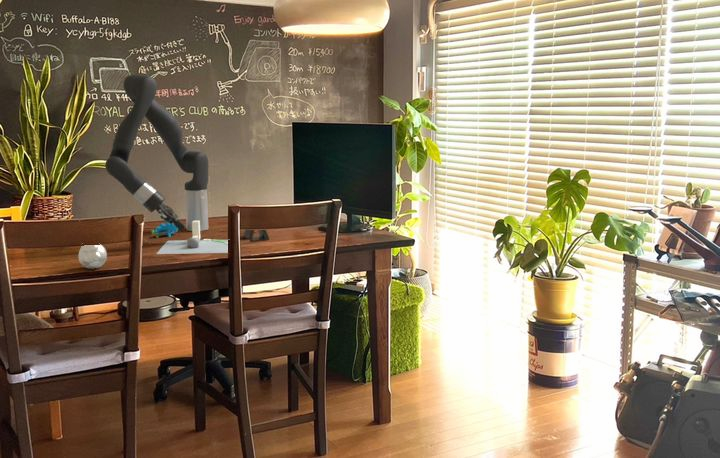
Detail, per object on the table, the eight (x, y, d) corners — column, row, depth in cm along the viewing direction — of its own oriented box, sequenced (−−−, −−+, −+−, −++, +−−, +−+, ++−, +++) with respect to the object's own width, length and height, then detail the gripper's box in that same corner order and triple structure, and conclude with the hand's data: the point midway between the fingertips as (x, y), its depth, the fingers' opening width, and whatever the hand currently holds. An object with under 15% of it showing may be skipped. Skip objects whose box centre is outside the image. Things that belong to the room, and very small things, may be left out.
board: (168, 243, 277) (167, 239, 277) (236, 242, 279) (235, 238, 279) (156, 257, 253) (155, 253, 252) (230, 256, 255) (230, 251, 255)
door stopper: (247, 242, 280) (246, 211, 278) (242, 239, 285) (241, 209, 283) (269, 240, 284) (268, 210, 282) (264, 237, 289) (263, 208, 287)
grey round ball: (71, 270, 233) (69, 240, 232) (93, 264, 242) (91, 235, 240) (93, 273, 230) (90, 242, 228) (114, 267, 238) (112, 237, 237)
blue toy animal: (177, 231, 292) (178, 217, 284) (182, 243, 289) (183, 229, 282) (150, 237, 287) (151, 223, 279) (155, 249, 285) (155, 235, 277)
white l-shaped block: (197, 247, 262) (197, 226, 261) (186, 248, 262) (185, 227, 260) (203, 239, 278) (202, 219, 276) (192, 239, 277) (192, 219, 276)
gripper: (152, 192, 263) (187, 224, 266) (159, 187, 276) (192, 218, 279) (138, 206, 263) (174, 239, 266) (145, 201, 276) (179, 232, 279)
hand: (183, 228), depth 273 cm, fingers closed
